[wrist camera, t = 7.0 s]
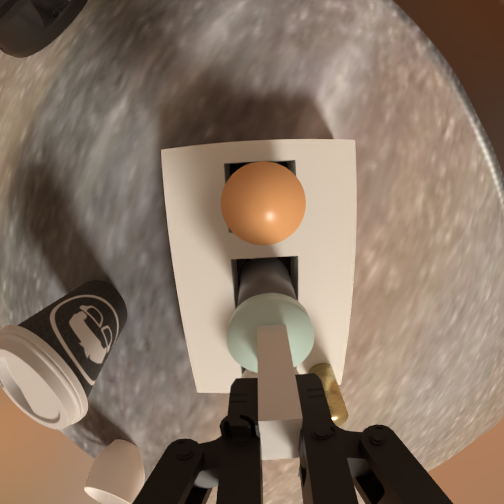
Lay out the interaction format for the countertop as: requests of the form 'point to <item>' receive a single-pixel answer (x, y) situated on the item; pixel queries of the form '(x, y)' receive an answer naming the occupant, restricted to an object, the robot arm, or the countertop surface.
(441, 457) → the countertop surface
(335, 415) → the cylinder
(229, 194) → the knob
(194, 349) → the panel
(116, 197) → the countertop surface
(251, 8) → the countertop surface
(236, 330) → the knob
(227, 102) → the countertop surface
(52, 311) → the coffee cup
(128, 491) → the mug
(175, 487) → the robot arm
